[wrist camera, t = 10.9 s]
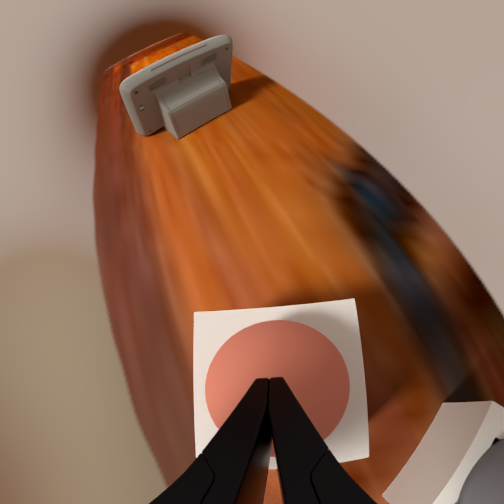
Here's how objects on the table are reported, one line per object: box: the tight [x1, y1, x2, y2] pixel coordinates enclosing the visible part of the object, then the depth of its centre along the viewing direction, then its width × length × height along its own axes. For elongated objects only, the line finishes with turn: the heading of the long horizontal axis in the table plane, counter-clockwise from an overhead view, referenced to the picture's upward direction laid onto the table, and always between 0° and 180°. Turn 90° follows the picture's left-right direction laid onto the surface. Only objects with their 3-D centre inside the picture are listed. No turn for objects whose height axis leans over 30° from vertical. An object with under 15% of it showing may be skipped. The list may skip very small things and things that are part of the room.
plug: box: [456, 439, 504, 504], centre depth 9 cm, size 6×6×8 cm
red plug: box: [205, 320, 350, 457], centre depth 15 cm, size 6×6×8 cm
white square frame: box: [194, 298, 369, 469], centre depth 16 cm, size 9×9×7 cm
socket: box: [382, 401, 504, 504], centre depth 10 cm, size 9×9×7 cm
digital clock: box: [119, 35, 232, 139], centre depth 32 cm, size 16×9×11 cm, turn 117°
